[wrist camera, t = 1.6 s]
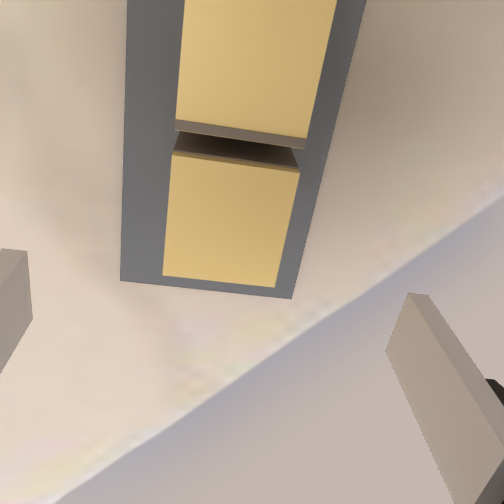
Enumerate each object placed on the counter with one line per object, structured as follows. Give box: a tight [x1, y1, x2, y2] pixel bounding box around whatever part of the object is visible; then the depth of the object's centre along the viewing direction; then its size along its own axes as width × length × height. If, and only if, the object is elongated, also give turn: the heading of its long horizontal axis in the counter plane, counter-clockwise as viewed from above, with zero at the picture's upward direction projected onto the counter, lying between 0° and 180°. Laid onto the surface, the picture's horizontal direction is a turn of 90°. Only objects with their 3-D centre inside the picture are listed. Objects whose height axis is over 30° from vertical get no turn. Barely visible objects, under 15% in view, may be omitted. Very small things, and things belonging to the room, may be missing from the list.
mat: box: [120, 0, 366, 299], centre depth 31 cm, size 26×14×1 cm, turn 171°
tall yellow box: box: [174, 0, 337, 149], centre depth 22 cm, size 9×6×12 cm, turn 171°
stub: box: [162, 131, 300, 288], centre depth 26 cm, size 6×6×12 cm
